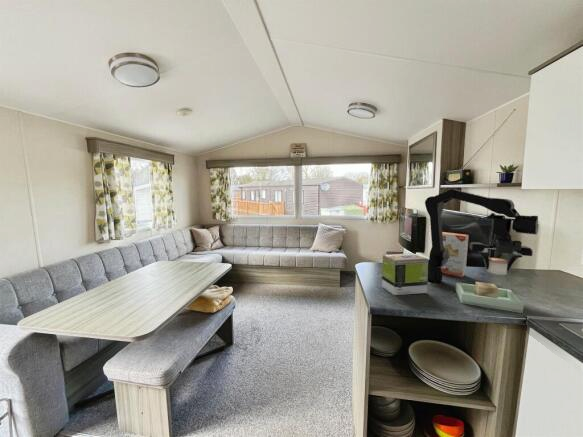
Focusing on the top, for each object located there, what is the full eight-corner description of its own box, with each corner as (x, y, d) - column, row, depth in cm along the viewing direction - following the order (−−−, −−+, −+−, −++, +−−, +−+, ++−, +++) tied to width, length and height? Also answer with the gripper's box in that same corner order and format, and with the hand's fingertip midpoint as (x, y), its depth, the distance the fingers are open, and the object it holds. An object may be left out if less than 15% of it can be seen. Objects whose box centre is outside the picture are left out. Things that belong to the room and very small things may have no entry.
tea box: (411, 285, 114) (413, 252, 113) (427, 293, 104) (429, 258, 103) (380, 286, 112) (382, 253, 110) (393, 296, 102) (395, 259, 100)
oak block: (477, 299, 97) (478, 286, 96) (474, 293, 102) (475, 281, 102) (497, 302, 94) (498, 289, 94) (492, 296, 100) (494, 284, 99)
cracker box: (431, 271, 135) (434, 232, 133) (435, 269, 139) (438, 231, 137) (462, 278, 125) (465, 235, 122) (465, 275, 129) (469, 234, 126)
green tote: (461, 302, 96) (461, 294, 95) (455, 290, 108) (456, 282, 108) (522, 313, 88) (523, 303, 88) (509, 298, 101) (510, 289, 100)
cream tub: (489, 273, 100) (490, 260, 100) (485, 269, 105) (486, 257, 105) (508, 275, 98) (510, 262, 97) (503, 271, 103) (504, 258, 102)
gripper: (477, 232, 96) (473, 272, 98) (542, 236, 89) (537, 279, 90) (470, 228, 106) (467, 264, 108) (528, 231, 99) (523, 271, 101)
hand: (496, 269), depth 101 cm, fingers closed on cream tub, 6 cm apart
